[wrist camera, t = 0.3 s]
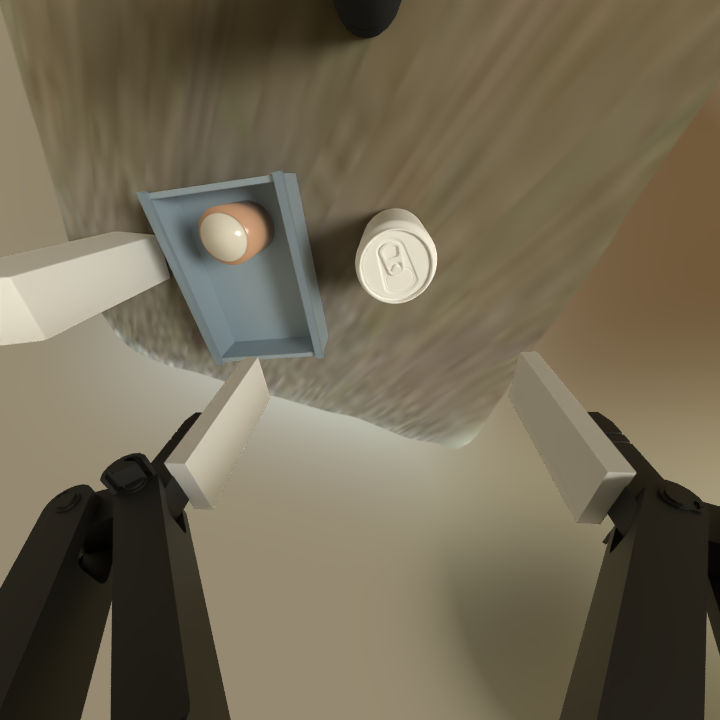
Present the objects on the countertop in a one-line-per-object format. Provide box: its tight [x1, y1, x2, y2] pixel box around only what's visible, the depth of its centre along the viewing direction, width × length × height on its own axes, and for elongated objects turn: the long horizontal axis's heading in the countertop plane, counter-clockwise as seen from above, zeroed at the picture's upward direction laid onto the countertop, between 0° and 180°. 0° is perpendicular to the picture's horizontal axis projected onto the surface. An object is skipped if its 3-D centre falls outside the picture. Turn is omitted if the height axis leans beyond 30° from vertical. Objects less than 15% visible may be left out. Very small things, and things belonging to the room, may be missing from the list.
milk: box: [0, 231, 170, 346], centre depth 32 cm, size 6×6×22 cm
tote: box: [136, 171, 329, 365], centre depth 39 cm, size 22×16×6 cm
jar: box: [199, 200, 274, 265], centre depth 34 cm, size 6×6×8 cm
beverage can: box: [355, 208, 437, 304], centre depth 33 cm, size 8×8×12 cm
